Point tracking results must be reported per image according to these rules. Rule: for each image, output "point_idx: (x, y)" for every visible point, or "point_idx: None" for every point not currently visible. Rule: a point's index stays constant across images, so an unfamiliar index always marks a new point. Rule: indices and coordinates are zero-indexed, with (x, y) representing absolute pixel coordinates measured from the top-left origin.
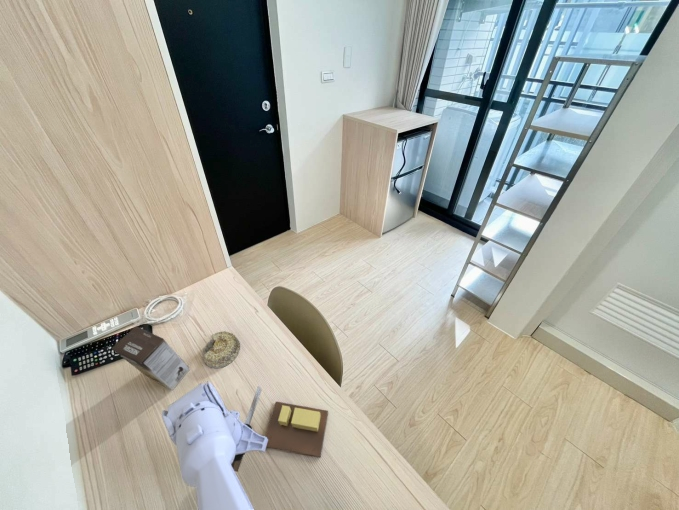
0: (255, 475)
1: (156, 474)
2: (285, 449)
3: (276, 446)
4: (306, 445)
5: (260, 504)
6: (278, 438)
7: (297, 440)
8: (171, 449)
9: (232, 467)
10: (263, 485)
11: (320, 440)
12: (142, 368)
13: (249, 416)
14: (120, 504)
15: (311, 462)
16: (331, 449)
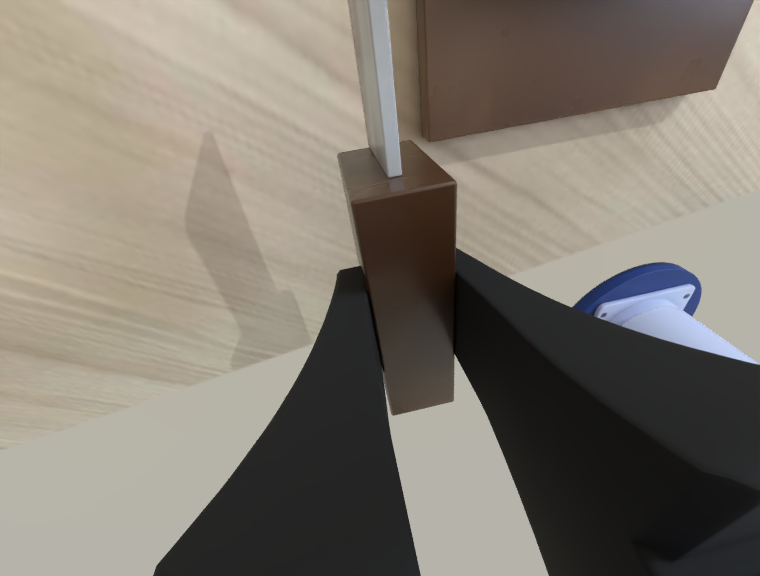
0: None
1: (68, 362)
2: (549, 119)
3: (502, 122)
4: (658, 61)
5: None
6: (504, 79)
7: (611, 52)
8: (12, 298)
9: (449, 400)
10: (468, 250)
11: (740, 5)
12: None
13: (384, 55)
14: (60, 430)
15: (649, 120)
16: (756, 30)
